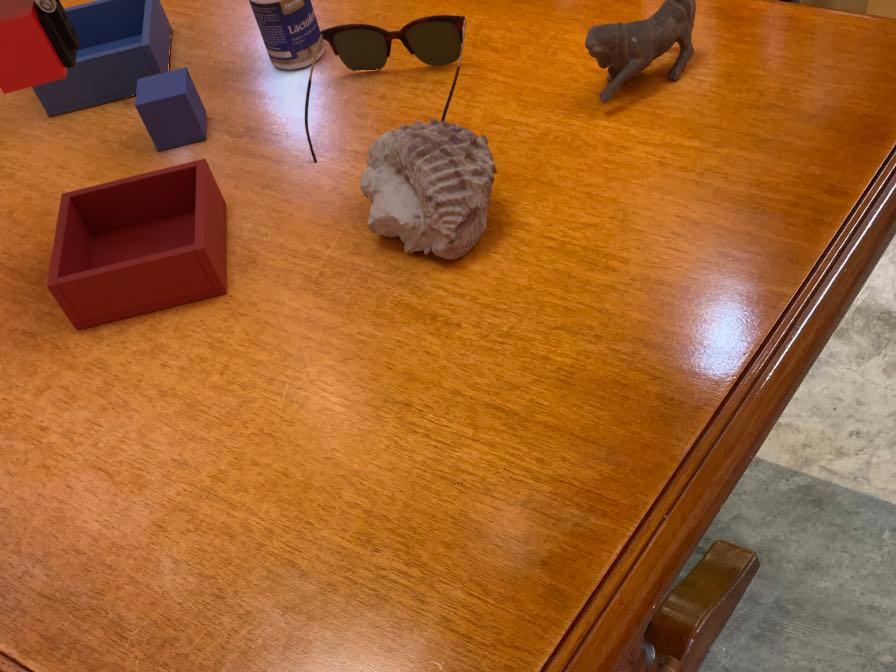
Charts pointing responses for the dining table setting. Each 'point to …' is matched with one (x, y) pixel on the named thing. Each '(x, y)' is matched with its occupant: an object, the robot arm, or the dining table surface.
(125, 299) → the maroon bin
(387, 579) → the dining table surface
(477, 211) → the seashell
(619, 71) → the dog figurine
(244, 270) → the dining table surface
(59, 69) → the red block
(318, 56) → the pill bottle
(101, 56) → the blue bin
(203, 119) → the blue block
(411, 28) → the sunglasses
